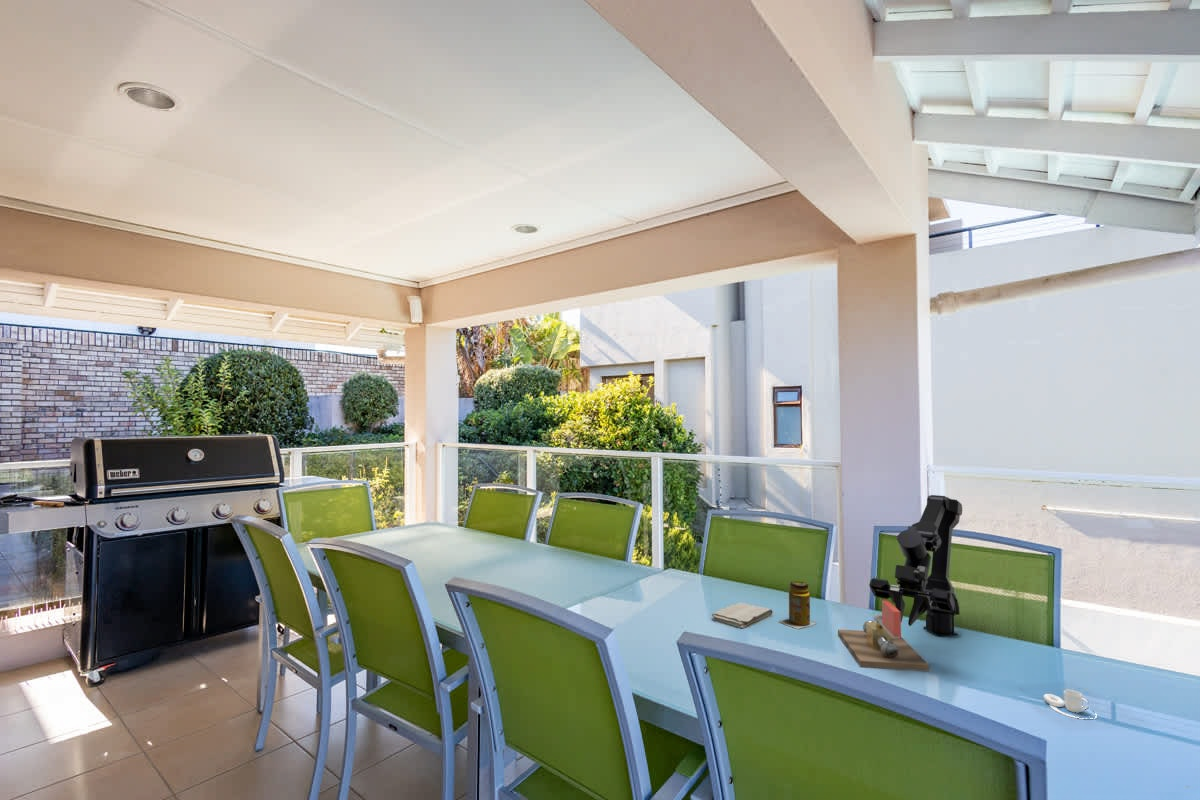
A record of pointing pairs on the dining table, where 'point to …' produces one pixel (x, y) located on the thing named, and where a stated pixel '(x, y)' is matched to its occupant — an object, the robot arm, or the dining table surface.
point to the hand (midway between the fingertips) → (904, 623)
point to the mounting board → (875, 658)
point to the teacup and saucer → (1067, 702)
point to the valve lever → (890, 619)
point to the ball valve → (880, 639)
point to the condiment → (798, 606)
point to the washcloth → (741, 615)
